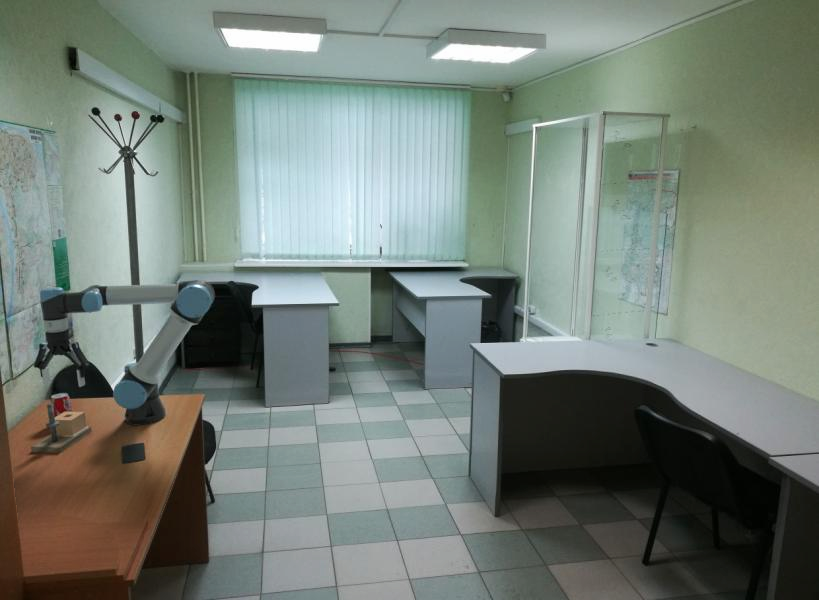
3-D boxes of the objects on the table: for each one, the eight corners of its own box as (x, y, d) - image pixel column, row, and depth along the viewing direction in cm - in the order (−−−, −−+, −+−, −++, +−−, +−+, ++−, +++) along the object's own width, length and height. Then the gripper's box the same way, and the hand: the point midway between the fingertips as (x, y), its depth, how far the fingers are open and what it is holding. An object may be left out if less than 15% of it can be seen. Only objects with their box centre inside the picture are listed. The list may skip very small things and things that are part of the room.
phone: (121, 463, 201) (121, 446, 214) (122, 465, 201) (122, 448, 214) (145, 459, 204) (144, 442, 217) (145, 461, 204) (144, 444, 217)
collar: (86, 426, 227) (84, 412, 226) (73, 435, 220) (71, 420, 218) (66, 426, 228) (64, 411, 227) (52, 434, 220) (50, 419, 219)
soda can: (64, 428, 232) (60, 399, 230) (48, 426, 234) (44, 397, 231) (77, 421, 239) (73, 392, 237) (62, 419, 241) (58, 391, 238)
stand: (91, 432, 228) (86, 392, 225) (60, 452, 211) (54, 410, 207) (64, 431, 229) (59, 391, 226) (31, 451, 212) (25, 409, 208)
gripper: (17, 332, 214) (26, 388, 218) (82, 332, 212) (90, 389, 216) (32, 327, 221) (40, 382, 225) (95, 327, 219) (102, 382, 223)
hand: (64, 385), depth 220 cm, fingers open, 13 cm apart
